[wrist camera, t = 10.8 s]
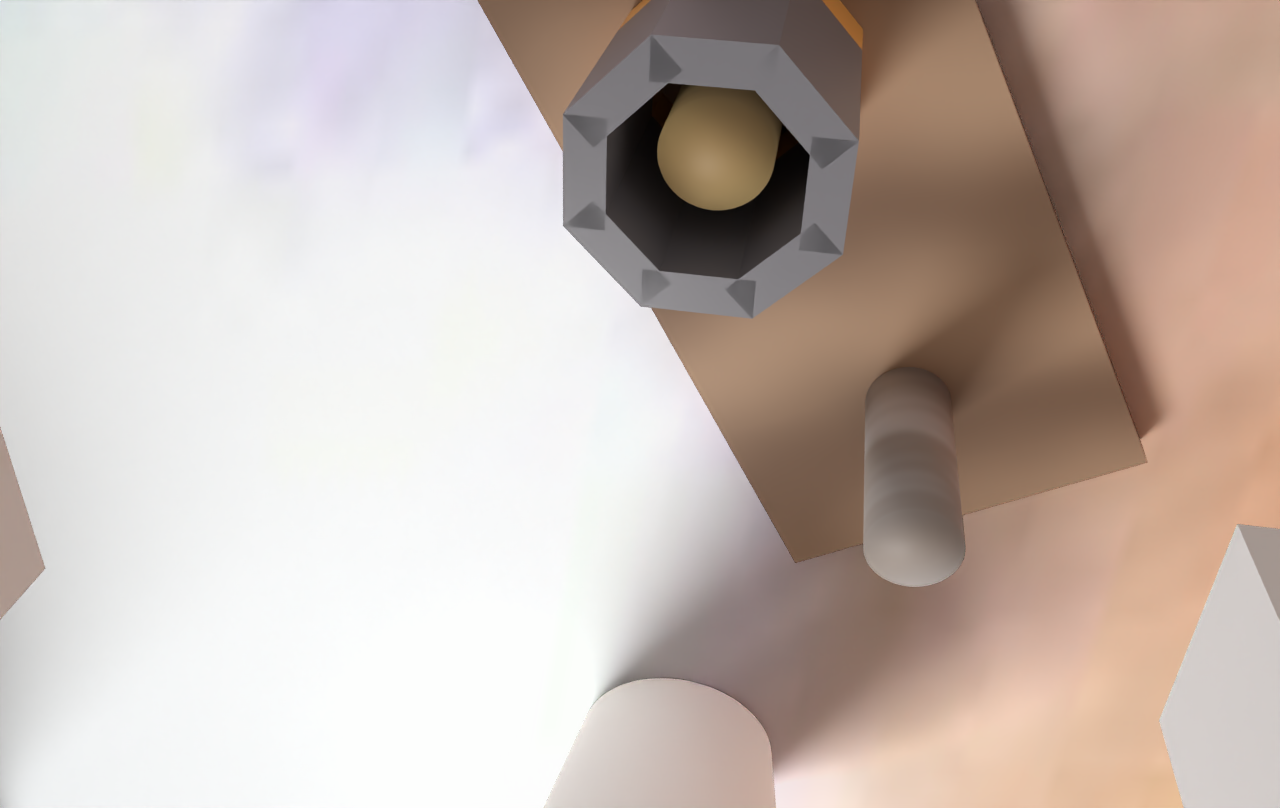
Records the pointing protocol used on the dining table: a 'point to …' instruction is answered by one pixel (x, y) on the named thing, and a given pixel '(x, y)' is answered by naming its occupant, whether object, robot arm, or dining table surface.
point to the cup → (667, 751)
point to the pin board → (881, 294)
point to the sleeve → (678, 231)
